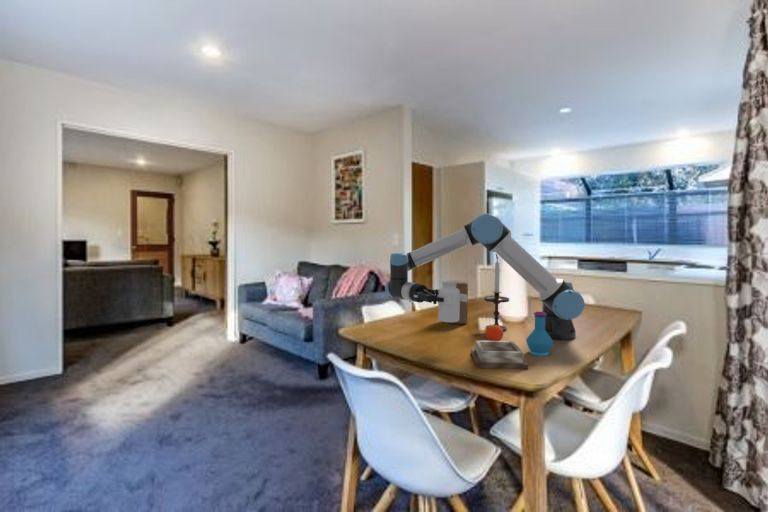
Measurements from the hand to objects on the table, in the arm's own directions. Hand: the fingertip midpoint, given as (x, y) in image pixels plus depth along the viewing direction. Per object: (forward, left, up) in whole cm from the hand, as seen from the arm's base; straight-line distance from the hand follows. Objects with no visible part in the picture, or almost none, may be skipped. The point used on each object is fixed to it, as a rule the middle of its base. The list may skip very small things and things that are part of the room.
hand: (459, 299), depth 144 cm
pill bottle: (+3, -3, -9) cm, 10 cm away
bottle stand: (-13, +8, -20) cm, 25 cm away
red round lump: (-16, -16, -20) cm, 30 cm away
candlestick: (-21, -36, -20) cm, 46 cm away
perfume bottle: (-30, -2, -20) cm, 36 cm away
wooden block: (-5, -50, -20) cm, 54 cm away
